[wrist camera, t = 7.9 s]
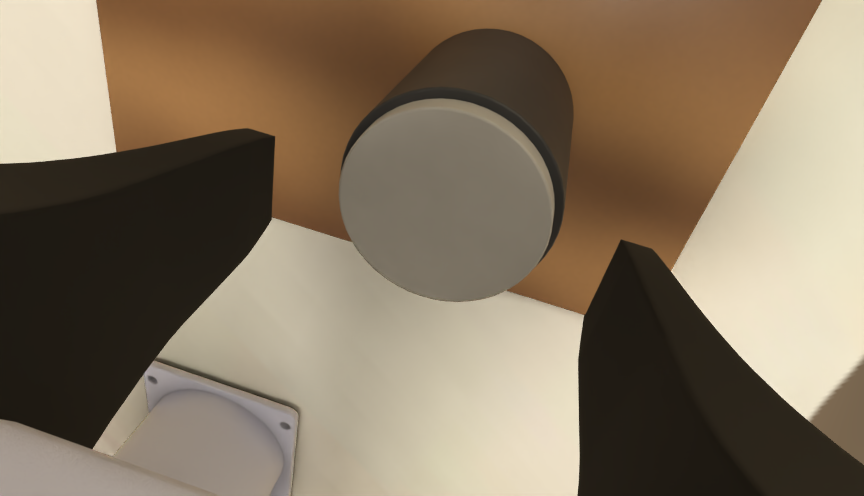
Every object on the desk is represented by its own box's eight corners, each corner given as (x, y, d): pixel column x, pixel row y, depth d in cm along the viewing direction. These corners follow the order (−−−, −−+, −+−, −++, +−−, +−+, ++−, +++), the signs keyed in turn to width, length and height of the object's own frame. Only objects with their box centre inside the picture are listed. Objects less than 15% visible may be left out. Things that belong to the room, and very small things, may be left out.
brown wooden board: (636, 324, 20) (637, 331, 20) (125, 165, 22) (118, 169, 22) (841, -47, 13) (848, -45, 13) (74, -235, 15) (63, -238, 15)
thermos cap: (542, 210, 18) (522, 336, 13) (395, 166, 19) (320, 271, 14) (599, 55, 15) (601, 139, 10) (423, 7, 16) (341, 65, 11)
